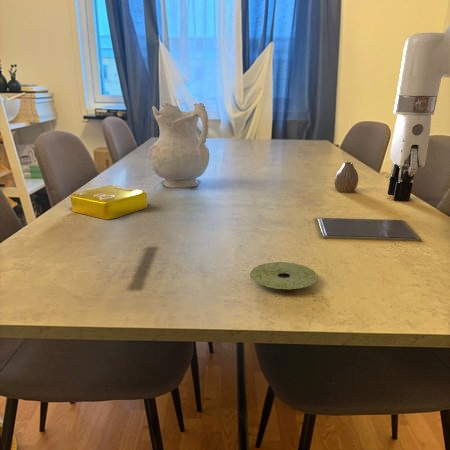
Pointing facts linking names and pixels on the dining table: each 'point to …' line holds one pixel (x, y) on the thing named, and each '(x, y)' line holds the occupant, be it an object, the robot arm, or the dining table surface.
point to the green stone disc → (283, 275)
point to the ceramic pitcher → (180, 146)
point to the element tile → (109, 201)
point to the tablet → (366, 229)
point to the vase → (346, 178)
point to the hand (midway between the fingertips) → (398, 197)
